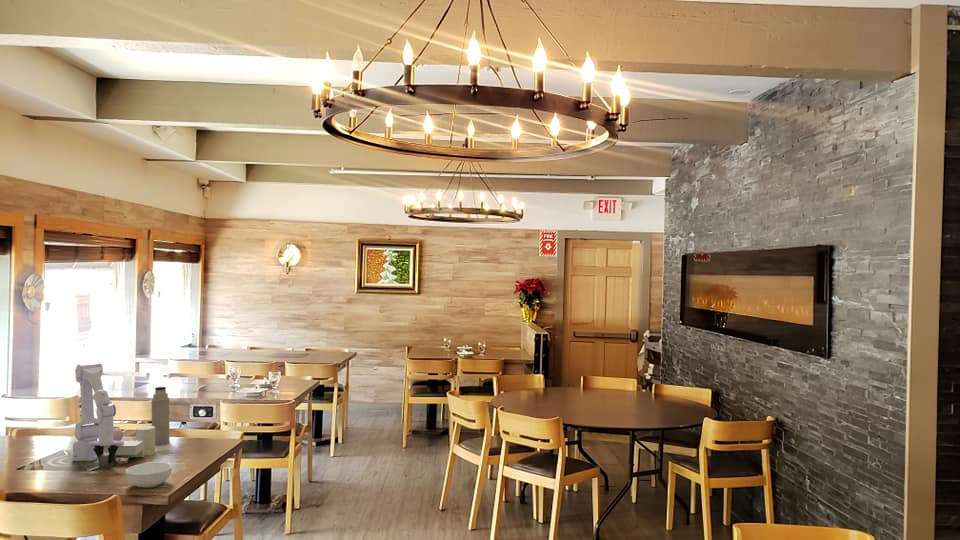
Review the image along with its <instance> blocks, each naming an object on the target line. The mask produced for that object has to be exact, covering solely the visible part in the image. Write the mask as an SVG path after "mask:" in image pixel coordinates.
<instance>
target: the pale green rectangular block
mask: <svg viewBox="0 0 960 540" xmlns="http://www.w3.org/2000/svg"><path fill="white" fill-rule="evenodd" d="M123 441H124V446H119V447H118V449H117V451H116V453H115V456H114V457H118V456H128V457H143V458H144V457H145V455H144V442H145V441H136V440H123ZM109 447H111V446H104V450H103V453H109V451H108V448H109Z"/></svg>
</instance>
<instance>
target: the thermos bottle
mask: <svg viewBox="0 0 960 540" xmlns="http://www.w3.org/2000/svg"><path fill="white" fill-rule="evenodd" d="M166 388H167V387H166V386H157V387H155V388H154V391H155V392H154V393H153V395H152V398H151V426H155V446H163V444H164V445H168V444H169V443H170V397H169V393H167V390H166ZM167 443H168V444H167Z"/></svg>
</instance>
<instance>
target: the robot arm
mask: <svg viewBox="0 0 960 540" xmlns="http://www.w3.org/2000/svg"><path fill="white" fill-rule="evenodd" d="M103 369H104V368H103V364H102V363H101V362H100V361H98V362H92V363H91V362H90V363H89V362H88V363H78V364H76V367H75V371H74V372H75V373H74V374H75V382H77V383H79V386H80V387H79V389H80V404H81V408H80V409H81V418H80V420H78V421H77V422H76V423H75V425H74V426H75V429H74V437H75V440H74V441H73V443H72V444H73V445H72V460H71V461H72V462H86V461H87V462H88V461H89V462H91V461H92V462H93V461H95V460H98V461H99V456H100V455H101V454H103V450H104V446H111V447H109V448H108V451H109V463H112V462H113V460H114V456H115V453H116V451H117V449H118V447H119V446H124V441H125V440H121V441H116V440H113V427H114V417H115V416H116V414H117V410H116V409H117V408H116V405H115V403H114V402H113V401H111V399H110V396H109V394H108V391H107V390H105V389H104V387H103V382H102V378H101V377H102V376H103V375H102V374H103V371H104V370H103ZM93 393H94V394H93ZM94 403H95V406H96V410H95V409H94ZM95 411H96V413H95ZM95 414H96V417H97V418H96V417H95Z"/></svg>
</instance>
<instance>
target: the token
mask: <svg viewBox="0 0 960 540" xmlns="http://www.w3.org/2000/svg"><path fill="white" fill-rule="evenodd" d="M126 462H127V463H128V462H129V458H128V456H118V457H116V463H115V465H116V464H117V465H123V463H124V464H127V463H126Z"/></svg>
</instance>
